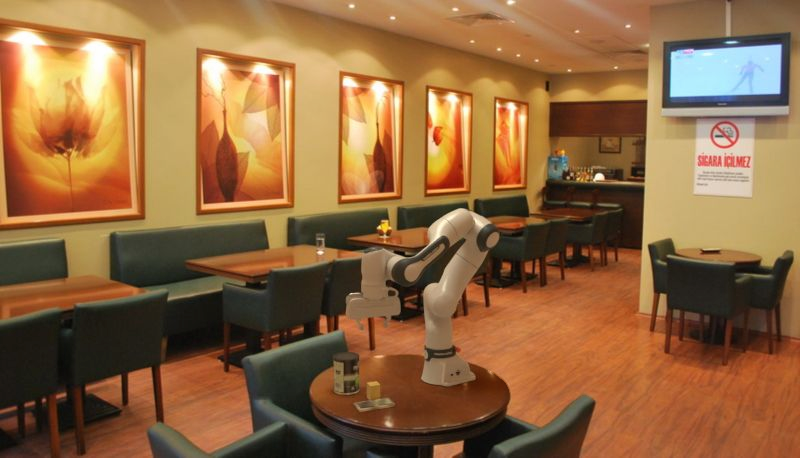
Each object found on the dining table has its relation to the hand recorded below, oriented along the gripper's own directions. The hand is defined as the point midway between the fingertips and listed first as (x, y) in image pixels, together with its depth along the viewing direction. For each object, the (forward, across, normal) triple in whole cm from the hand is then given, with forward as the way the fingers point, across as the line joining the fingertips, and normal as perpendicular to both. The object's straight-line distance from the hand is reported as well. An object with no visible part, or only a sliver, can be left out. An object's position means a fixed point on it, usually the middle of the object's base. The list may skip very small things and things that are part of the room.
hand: (373, 328), depth 238 cm
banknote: (+29, 0, -1) cm, 29 cm away
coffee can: (+30, -5, +18) cm, 35 cm away
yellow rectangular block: (+29, +2, +6) cm, 30 cm away
